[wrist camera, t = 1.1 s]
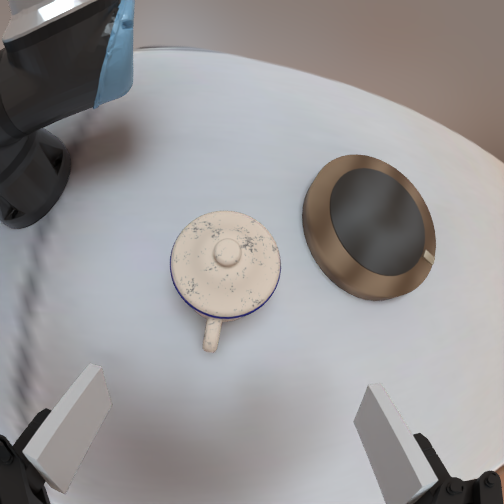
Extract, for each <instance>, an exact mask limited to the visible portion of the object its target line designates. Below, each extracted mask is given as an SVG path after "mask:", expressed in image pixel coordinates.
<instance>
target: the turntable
mask: <svg viewBox="0 0 504 504" xmlns="http://www.w3.org/2000/svg"><path fill="white" fill-rule="evenodd" d="M302 220H303V229H304V234H305V238H306V241H307V244H308V247H309V249H310V251H311V253H312V256H313V257H314V259H315V261H316V262H317V264H318V265H319V267H320V268H321V269H322V271H323V272H324V273H325V274H326V275H327V276H328V278H329V279H330V280H331V281H332V282H334V283H335V284H336V285H337V286H338V287H340V288H341V289H343V290H344V291H346V292H348V293H350V294H352V295H354V296H356V297H359V298H362V299H366V300H373V301H380V300H387V299H391V298H395V297H398V296H401V295H404V294H407V293H409V292H411V291H413V290H414V289H416V288H417V287H418V286H419V285H420V284H421V283H422V282H423V281H424V280H425V279H426V277H427V276H428V274H429V272H430V270H431V267H432V265H433V263H434V260H435V258H434V257H435V249H436V238H435V230H434V225H433V221H432V218H431V215H430V212H429V210H428V208H427V205H426V204H425V202H424V200H423V198H422V197H421V195H420V193H419V192H418V191H417V189H416V188H415V187H414V185H413V184H412V183H411V182H410V181H409V180H408V179H407V178H406V177H405V176H404V175H403V174H402V173H401V172H399V171H398V170H397V169H395V168H394V167H392V166H391V165H389V164H387V163H385V162H383V161H381V160H379V159H376V158H373V157H369V156H365V155H346V156H342V157H339V158H336V159H334V160H332V161H331V162H329V163H328V164H327V165H325V166H324V167H323V168H322V170H321V171H320V172H319V173H318V175H317V177H316V178H315V180H314V181H313V183H312V185H311V186H310V188H309V190H308V192H307V194H306V197H305V200H304V204H303V213H302Z"/></svg>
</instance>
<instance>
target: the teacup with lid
mask: <svg viewBox="0 0 504 504" xmlns="http://www.w3.org/2000/svg"><path fill="white" fill-rule="evenodd" d="M170 272H171V277H172V281H173V284H174V286H175V288H176V290H177V292H178V293H179V295H180V296H181V298H182V299H183V300H184V301H185V302H186V303H187V304H188V305H189V306H190V307H192V308H193V309H194V310H195V311H196V312H197V313H198V314H199V315H201V316H203V317H204V318H207V323H206V329H205V334H204V340H203V349H204V351H206V352H211V353H214V352H215V351H216V350H217V346H218V341H219V336H220V331H221V325H222V322H228V321H233V320H236V319H239V318H241V317H243V316H246V315H248V314H250V313H252V312H254V311H256V310H257V309H259V308H260V307H261V306H263V305H264V304H265V303H266V302H267V301H268V300H269V298H270V297H271V296H272V294H273V293H274V291H275V289H276V287H277V284H278V281H279V278H280V272H281V260H280V254H279V250H278V247H277V245H276V243H275V241H274V239H273V237H272V236H271V234H270V233H269V231H268V230H267V229H266V228H265V227H264V226H263V225H262V224H261V223H259V222H258V221H256V220H255V219H253V218H252V217H250V216H247V215H245V214H242V213H238V212H233V211H216V212H211V213H208V214H205V215H202V216H200V217H198V218H196V219H195V220H193V221H192V222H191V223H189V224H188V225H187V226H186V227H185V228H184V229H183V231H182V232H181V233H180V234H179V236H178V237H177V239H176V241H175V243H174V245H173V248H172V252H171V256H170Z"/></svg>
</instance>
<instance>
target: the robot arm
mask: <svg viewBox="0 0 504 504" xmlns="http://www.w3.org/2000/svg"><path fill="white" fill-rule="evenodd" d="M8 4H9V8H10V11H11V19H10V22H9V24H8V26H7V28H6V30H5V32H4V34H3V36H2V41H3V43H4V46H5V48H3V49H2V50H0V221H1V222H3V223H4V224H5V225H7V226H9V227H11V228H23V227H26V226H29V225H31V224H33V223H34V222H36V221H37V220H39V219H40V218H41V217H43V216H44V215H45V214H46V213H47V212H48V211H49V210H50V209H51V207H52V206H53V205H54V204H55V202H56V201H57V199H58V198H59V196H60V195H61V193H62V191H63V189H64V187H65V185H66V183H67V180H68V177H69V173H70V165H71V162H70V155H69V153H68V151H67V149H66V147H65V146H64V144H63V143H62V141H61V140H60V139H59V138H57V137H56V136H55V135H53V134H51V133H50V132H48V131H47V130H45V129H44V128H43V127H45V126H48V125H50V124H52V123H54V122H56V121H59V120H61V119H63V118H66V117H68V116H71V115H73V114H76V113H78V112H81V111H84V110H86V109H89V108H92V107H93V109H95V108H97V107H98V106H99V105H101V104H104V103H106V102H109V101H112V100H115V99H117V98H120V97H122V96H124V95H125V94H126V93H127V92H128V91H129V90H130V88H131V87H132V84H133V20H134V4H135V0H8ZM111 407H112V402H111V399H110V395H109V392H108V388H107V384H106V381H105V377H104V373H103V369H102V366H98V365H94V364H90V363H89V365H88V366H87V367H86V368H85V369H84V371H83V372H82V373H81V374H80V376H79V377H78V378H77V379H76V381H75V382H74V383H73V384H72V386H71V387H70V388H69V389H68V391H67V392H66V393H65V394H64V396H63V397H62V398H61V400H60V401H59V402H58V403H57V405H56V406H55V407H54V409H53V410H52V411H51V410H49V409H47V408H46V409H44V410H42V411H41V412H39V413H38V414H37V415H36V416H35V417H34V419H33V420H32V422H31V423H30V424H29V425H28V427H27V428H26V429H25V430H24V432H23V433H22V434H21V436H20V437H19V438H18V440H17V441H16V442H15V444H14V445H13V446H12V445H11V444H10V442H9V441H8V440H7V438H6V437H5V436H3V435H0V504H50V501H49V498H48V495H47V492H46V489H45V487H44V483H45V481H46V482H47V483H48V484H49V486H50V487H51V488H53V489H55V490H57V491H59V492H61V493H63V494H66V492H67V490H68V488H69V486H70V484H71V482H72V480H73V478H74V476H75V474H76V472H77V470H78V468H79V466H80V464H81V462H82V460H83V458H84V456H85V455H86V453H87V451H88V449H89V447H90V445H91V443H92V441H93V439H94V438H95V436H96V434H97V432H98V430H99V428H100V427H101V425H102V423H103V421H104V419H105V418H106V416H107V414H108V412H109V410H110V409H111ZM354 424H355V426H356V429H357V431H358V434H359V436H360V439H361V441H362V444H363V446H364V448H365V451H366V453H367V456H368V458H369V461H370V464H371V466H372V469H373V471H374V474H375V476H376V479H377V481H378V484H379V487H380V489H381V492H382V494H383V497H384V500H385V502H386V504H503V497H502V487H501V480H500V477H499V475H498V474H497V473H496V472H494V471H487V472H484V473H483V474H482V475H481V476H480V477H479V478H478V479H474V480H469V481H462V480H461V479H459V478H457V477H451V476H450V475H449V473H448V472H447V470H446V468H445V467H444V465H443V463H442V461H441V460H440V458H439V457H438V455H437V454H436V452H435V450H434V448H432V445H431V443H430V442H429V440H428V439H427V438H426V437H425V436H423V435H422V434H421V433H418V434H414V435H412V433H411V431H410V430H409V428H408V426H407V424H406V423H405V421H404V419H403V418H402V416H401V414H400V413H399V411H398V410H397V408H396V406H395V405H394V403H393V401H392V400H391V398H390V396H389V395H388V393H387V392H386V390H385V388H384V387H383V385H382V384H381V383H379V384H370V385H368V387H367V389H366V392H365V394H364V397H363V400H362V402H361V405H360V407H359V410H358V412H357V414H356V417H355V419H354Z"/></svg>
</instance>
